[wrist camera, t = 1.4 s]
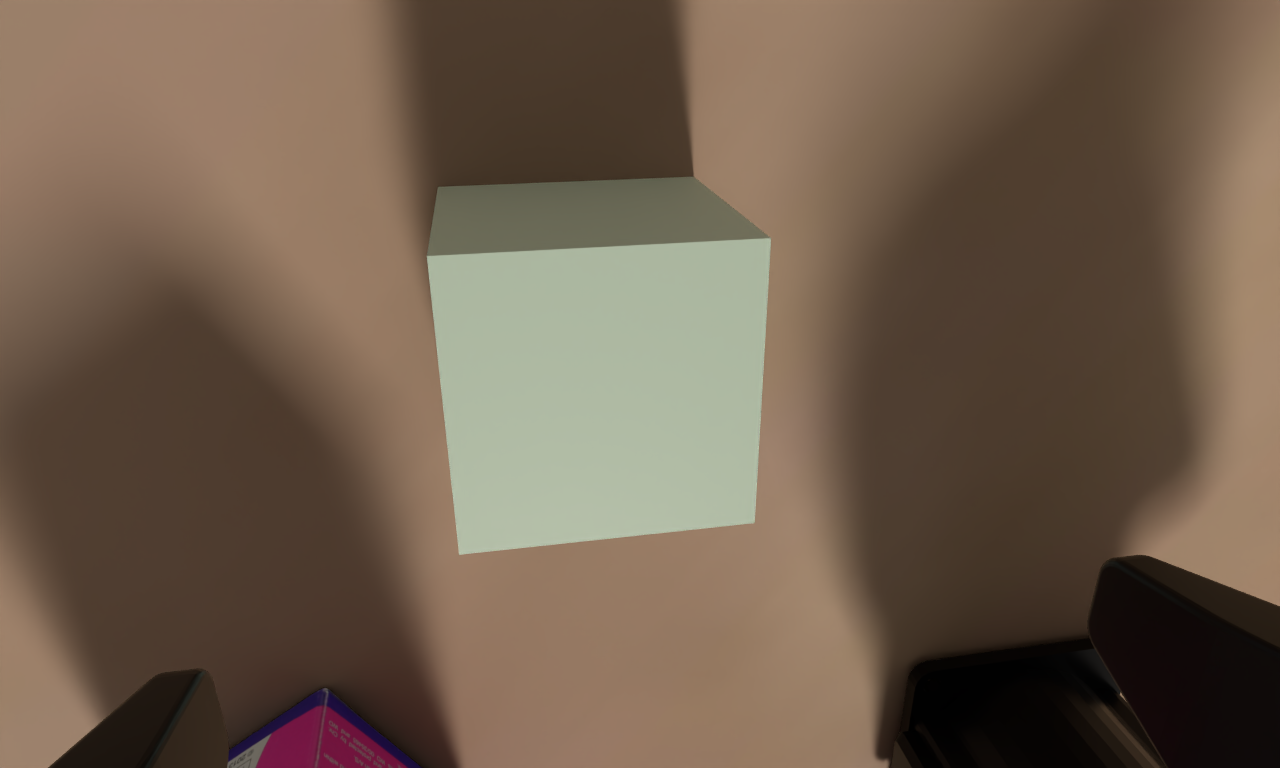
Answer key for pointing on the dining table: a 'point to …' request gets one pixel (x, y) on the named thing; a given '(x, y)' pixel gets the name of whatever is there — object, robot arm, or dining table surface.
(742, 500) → the sage cube
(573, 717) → the dining table surface
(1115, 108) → the dining table surface
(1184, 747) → the robot arm
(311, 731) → the supplement box
